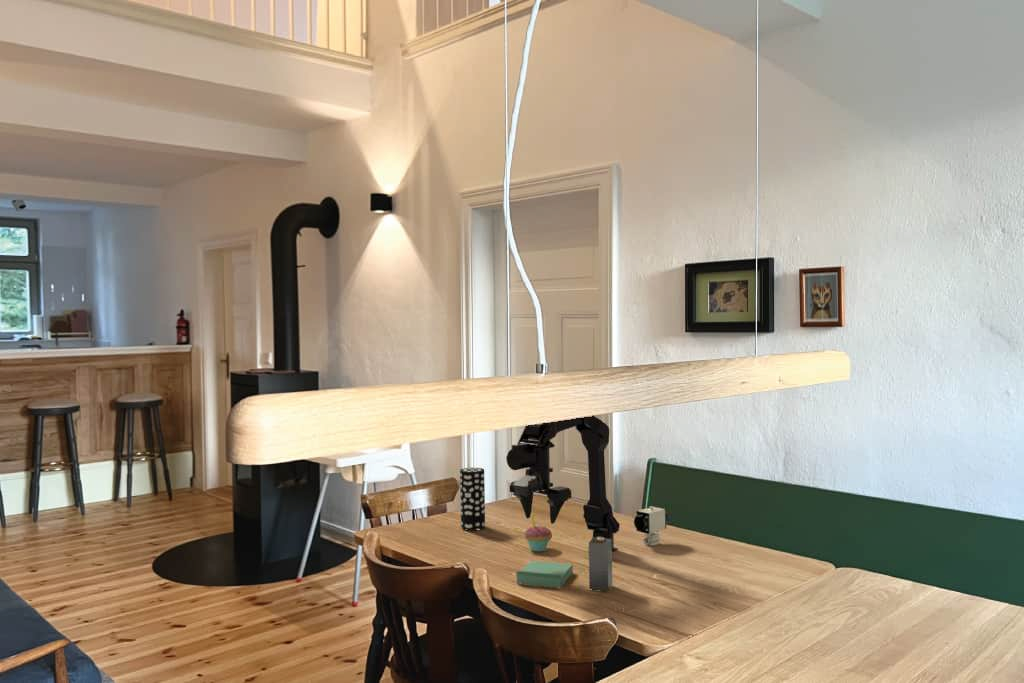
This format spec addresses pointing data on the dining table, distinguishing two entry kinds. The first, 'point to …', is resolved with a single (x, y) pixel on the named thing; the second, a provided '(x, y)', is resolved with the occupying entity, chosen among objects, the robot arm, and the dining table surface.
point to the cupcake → (537, 536)
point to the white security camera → (651, 523)
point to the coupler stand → (544, 574)
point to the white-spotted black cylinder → (472, 498)
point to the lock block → (600, 564)
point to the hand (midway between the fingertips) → (540, 520)
